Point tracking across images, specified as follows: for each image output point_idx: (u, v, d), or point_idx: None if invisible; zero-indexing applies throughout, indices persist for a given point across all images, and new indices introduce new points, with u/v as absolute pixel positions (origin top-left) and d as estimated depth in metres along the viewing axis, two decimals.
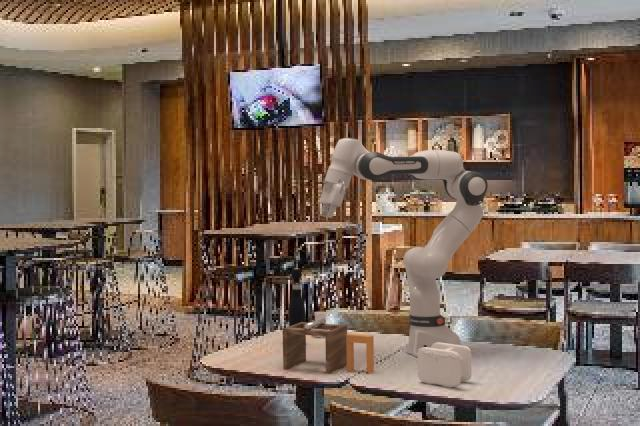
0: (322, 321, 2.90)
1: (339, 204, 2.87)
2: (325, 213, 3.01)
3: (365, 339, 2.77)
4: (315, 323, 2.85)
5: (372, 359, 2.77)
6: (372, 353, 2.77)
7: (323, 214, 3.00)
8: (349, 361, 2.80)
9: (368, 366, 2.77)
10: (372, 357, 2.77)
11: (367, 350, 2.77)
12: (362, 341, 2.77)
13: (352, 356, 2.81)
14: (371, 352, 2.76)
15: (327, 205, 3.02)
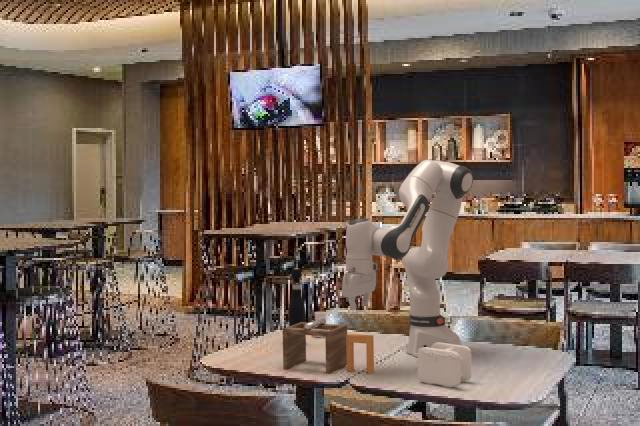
0: (322, 321, 2.90)
1: (349, 295, 2.69)
2: (364, 302, 2.82)
3: (365, 339, 2.77)
4: (315, 323, 2.85)
5: (372, 359, 2.77)
6: (372, 353, 2.77)
7: (363, 303, 2.82)
8: (349, 361, 2.80)
9: (368, 366, 2.77)
10: (372, 357, 2.77)
11: (367, 350, 2.77)
12: (362, 341, 2.77)
13: (352, 356, 2.81)
14: (371, 352, 2.76)
15: (366, 293, 2.83)
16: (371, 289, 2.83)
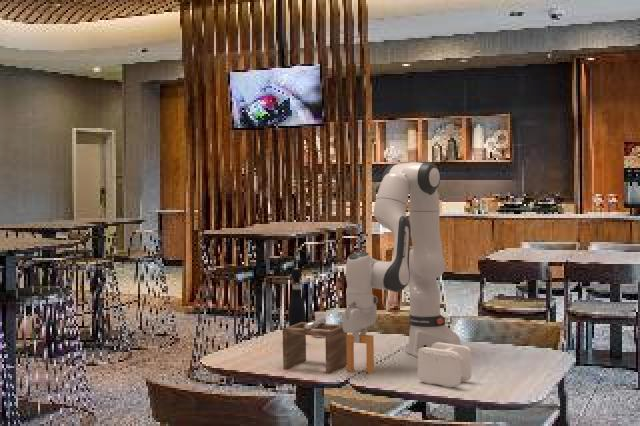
0: (322, 321, 2.90)
1: (350, 331, 2.70)
2: None
3: (365, 339, 2.77)
4: (315, 323, 2.85)
5: (372, 359, 2.77)
6: (372, 353, 2.77)
7: None
8: (349, 361, 2.80)
9: (368, 366, 2.77)
10: (372, 357, 2.77)
11: (367, 350, 2.77)
12: (362, 341, 2.77)
13: (352, 356, 2.81)
14: (371, 352, 2.76)
15: (363, 327, 2.81)
16: (371, 322, 2.83)
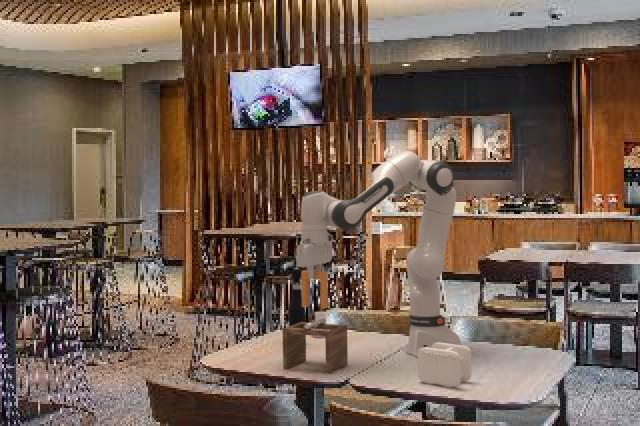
0: (322, 321, 2.90)
1: (303, 265, 2.76)
2: None
3: (319, 275, 2.83)
4: (315, 323, 2.85)
5: (326, 294, 2.84)
6: (326, 289, 2.84)
7: None
8: (304, 297, 2.87)
9: (322, 301, 2.83)
10: (326, 293, 2.84)
11: (321, 285, 2.83)
12: (316, 277, 2.84)
13: (307, 292, 2.87)
14: (325, 287, 2.83)
15: (318, 264, 2.87)
16: (326, 259, 2.90)
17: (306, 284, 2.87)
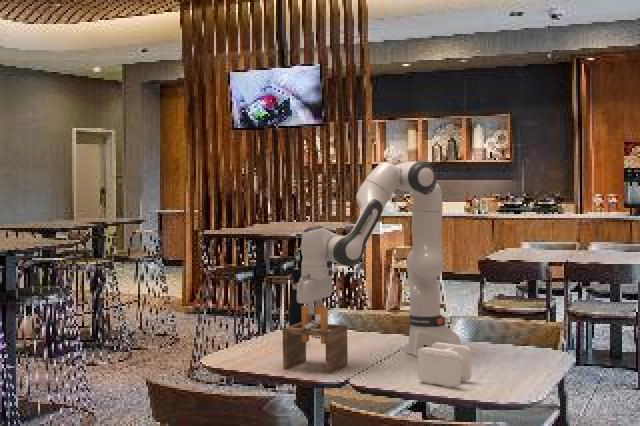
0: None
1: (303, 301, 2.77)
2: None
3: (319, 310, 2.84)
4: (315, 323, 2.85)
5: None
6: (326, 324, 2.85)
7: None
8: None
9: (322, 337, 2.84)
10: (326, 328, 2.85)
11: (321, 321, 2.84)
12: (316, 312, 2.85)
13: None
14: (325, 323, 2.84)
15: (318, 299, 2.88)
16: (326, 294, 2.91)
17: (306, 319, 2.87)
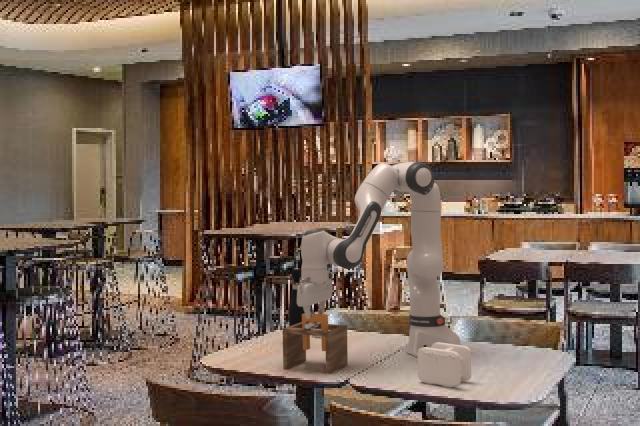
0: None
1: (303, 305, 2.77)
2: (320, 310, 2.90)
3: (319, 318, 2.84)
4: (315, 323, 2.85)
5: None
6: None
7: (319, 312, 2.90)
8: (305, 340, 2.87)
9: (323, 344, 2.84)
10: None
11: (322, 328, 2.84)
12: (317, 320, 2.85)
13: (308, 335, 2.88)
14: None
15: None
16: (327, 297, 2.91)
17: None
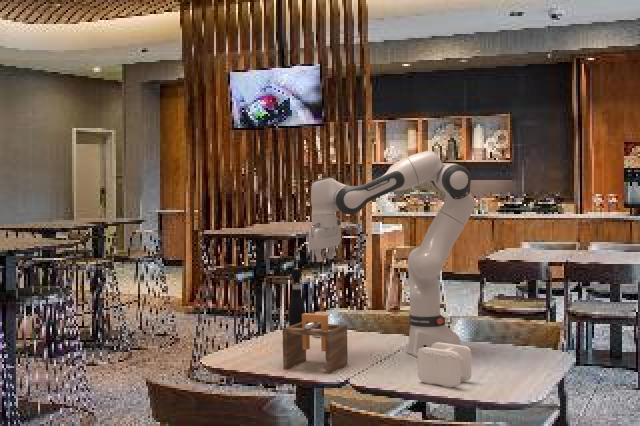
0: None
1: (315, 248, 2.91)
2: (330, 255, 3.04)
3: (319, 318, 2.84)
4: (315, 323, 2.85)
5: None
6: None
7: (329, 257, 3.04)
8: (305, 340, 2.87)
9: (323, 344, 2.84)
10: None
11: (322, 329, 2.84)
12: (317, 320, 2.85)
13: (308, 335, 2.88)
14: None
15: (331, 247, 3.05)
16: (336, 243, 3.05)
17: None
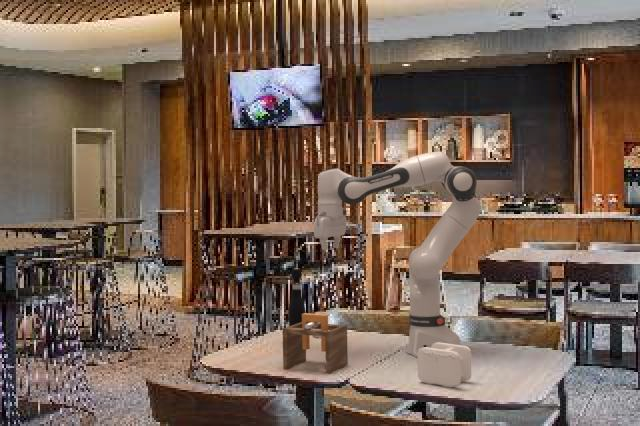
0: None
1: (320, 236, 2.99)
2: (335, 244, 3.12)
3: (319, 318, 2.84)
4: (315, 323, 2.85)
5: None
6: None
7: (334, 246, 3.12)
8: (305, 340, 2.87)
9: (323, 344, 2.84)
10: None
11: (322, 329, 2.84)
12: (317, 320, 2.85)
13: (308, 335, 2.88)
14: None
15: (337, 236, 3.12)
16: (341, 232, 3.12)
17: None
